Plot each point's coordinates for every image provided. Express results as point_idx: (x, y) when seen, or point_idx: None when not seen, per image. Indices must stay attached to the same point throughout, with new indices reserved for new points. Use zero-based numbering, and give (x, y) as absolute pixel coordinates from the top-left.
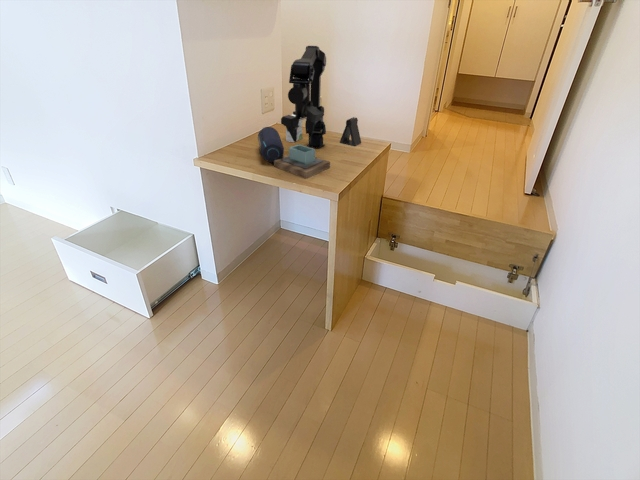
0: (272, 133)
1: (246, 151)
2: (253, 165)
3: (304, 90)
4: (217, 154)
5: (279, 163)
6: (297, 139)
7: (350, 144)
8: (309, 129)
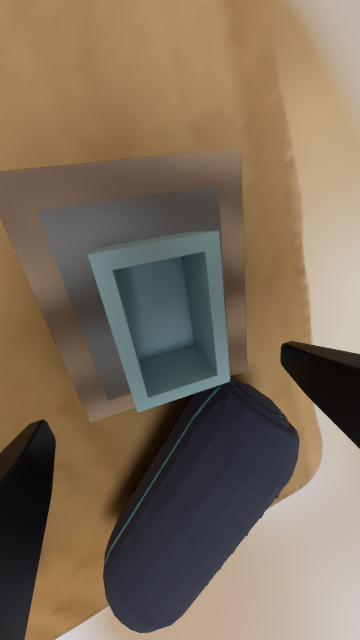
0: (209, 553)
1: None
2: (271, 395)
3: None
4: None
5: (244, 340)
6: None
7: None
8: (21, 536)
